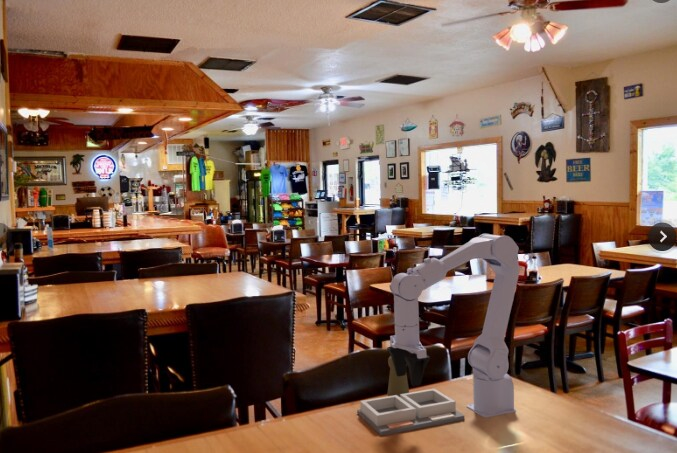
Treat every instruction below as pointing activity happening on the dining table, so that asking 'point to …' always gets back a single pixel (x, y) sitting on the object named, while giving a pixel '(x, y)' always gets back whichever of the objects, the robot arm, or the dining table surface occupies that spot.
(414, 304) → the robot arm
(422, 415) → the caddy
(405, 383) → the cork
